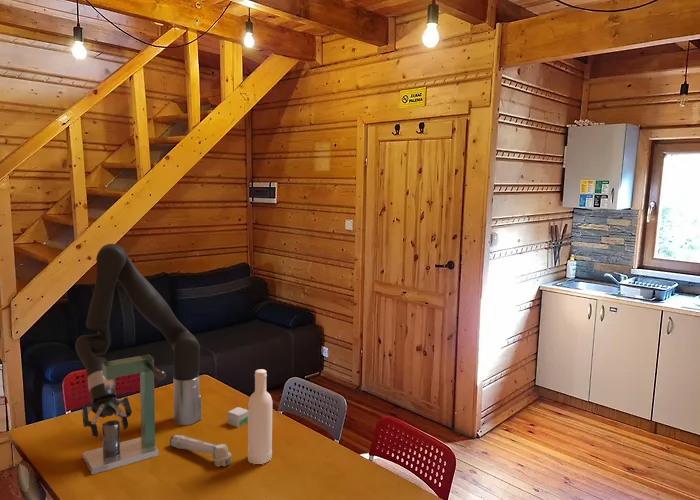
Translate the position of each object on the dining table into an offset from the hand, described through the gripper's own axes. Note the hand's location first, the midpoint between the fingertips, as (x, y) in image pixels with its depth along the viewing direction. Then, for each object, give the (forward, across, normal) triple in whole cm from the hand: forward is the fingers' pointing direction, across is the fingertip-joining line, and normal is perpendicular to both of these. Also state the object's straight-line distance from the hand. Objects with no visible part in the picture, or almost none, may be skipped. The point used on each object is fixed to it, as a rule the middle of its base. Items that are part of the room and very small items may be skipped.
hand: (111, 433), depth 164 cm
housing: (+5, 0, +5) cm, 7 cm away
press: (+9, +3, +3) cm, 10 cm away
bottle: (+26, +39, -12) cm, 48 cm away
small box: (+6, +45, +8) cm, 46 cm away
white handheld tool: (+16, +24, -3) cm, 29 cm away
